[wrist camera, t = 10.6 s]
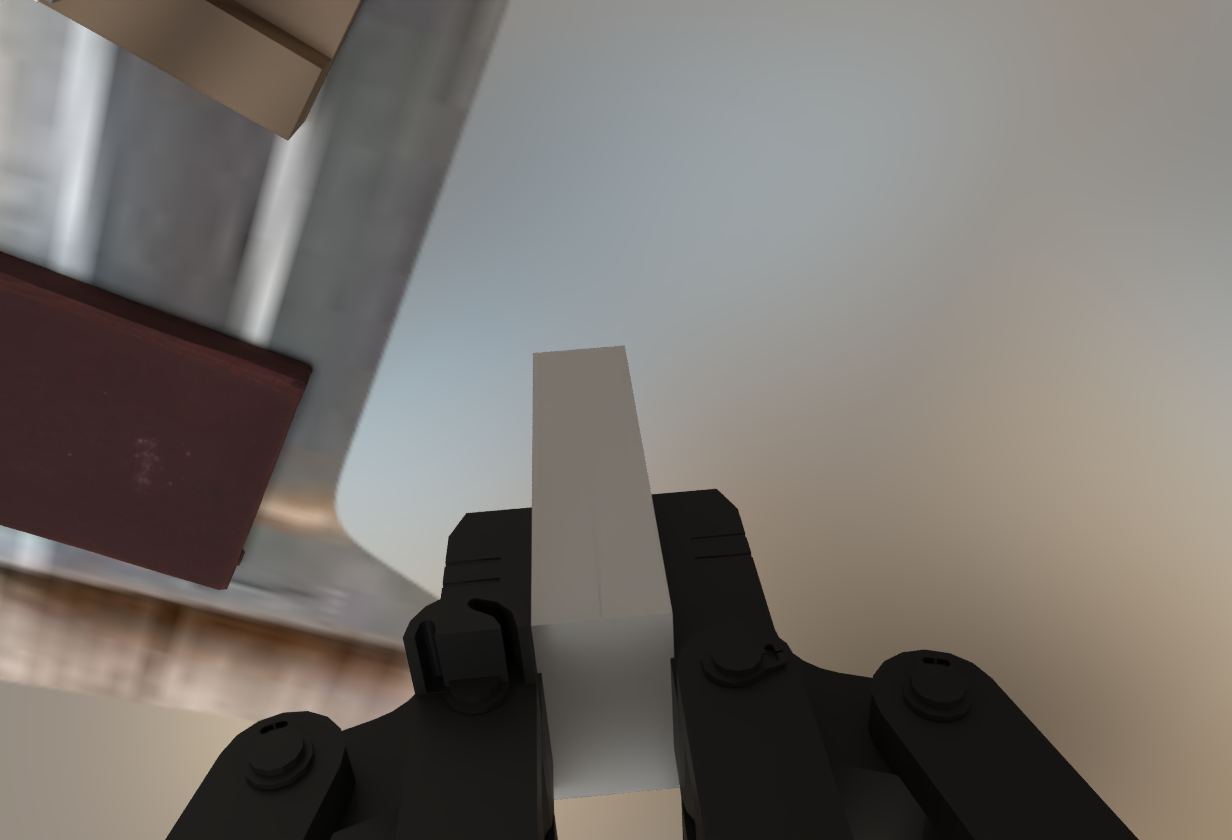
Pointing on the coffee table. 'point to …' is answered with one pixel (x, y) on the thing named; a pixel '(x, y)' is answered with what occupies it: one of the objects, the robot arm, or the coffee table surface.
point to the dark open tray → (231, 47)
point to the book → (134, 426)
